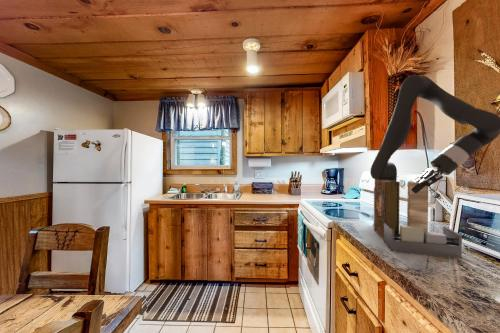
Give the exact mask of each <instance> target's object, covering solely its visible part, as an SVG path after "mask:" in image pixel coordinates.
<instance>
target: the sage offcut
mask: <svg viewBox="0 0 500 333" xmlns="http://www.w3.org/2000/svg"><path fill="white" fill-rule="evenodd" d="M399 233H400V241H410V242H422V243H424V229H423V228H422V227H414V226H407V225H399Z"/></svg>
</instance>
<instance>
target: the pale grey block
mask: <svg viewBox="0 0 500 333" xmlns="http://www.w3.org/2000/svg"><path fill="white" fill-rule="evenodd" d="M424 243H435V244H446V235H444V234H443V233H439V232H438V233H435V232H428V233H424Z"/></svg>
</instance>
